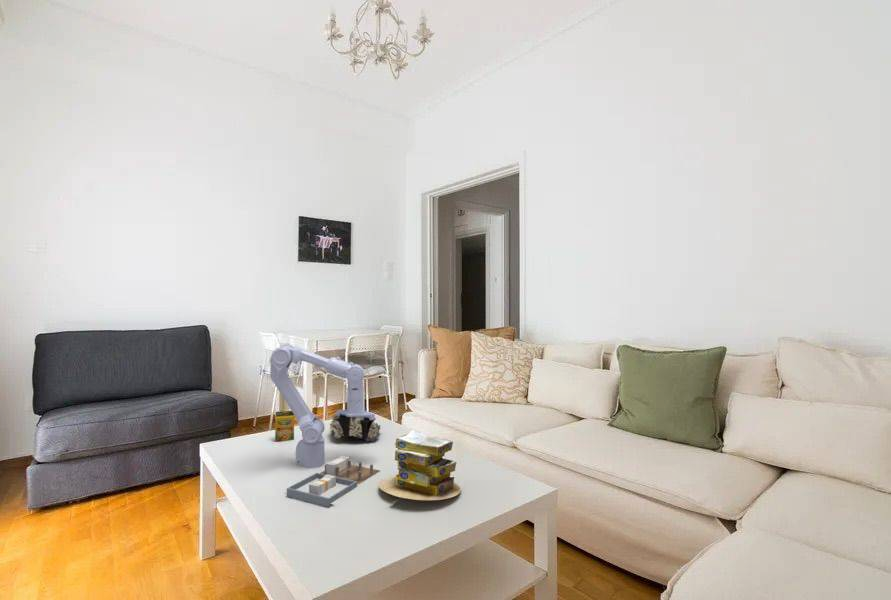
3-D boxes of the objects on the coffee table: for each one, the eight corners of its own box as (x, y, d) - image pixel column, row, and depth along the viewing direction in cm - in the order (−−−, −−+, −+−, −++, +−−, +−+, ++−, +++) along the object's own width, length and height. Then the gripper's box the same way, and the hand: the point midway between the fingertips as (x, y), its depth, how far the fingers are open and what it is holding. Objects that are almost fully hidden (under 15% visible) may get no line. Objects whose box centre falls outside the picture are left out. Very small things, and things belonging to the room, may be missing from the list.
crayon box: (275, 442, 183) (274, 413, 183) (275, 439, 186) (274, 411, 186) (294, 439, 186) (294, 411, 186) (293, 437, 188) (293, 410, 188)
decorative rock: (324, 445, 177) (324, 418, 178) (332, 433, 203) (333, 410, 204) (380, 442, 180) (380, 417, 181) (381, 431, 205) (381, 409, 207)
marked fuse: (309, 495, 133) (308, 484, 133) (327, 485, 140) (327, 474, 140) (317, 497, 132) (317, 486, 132) (335, 487, 139) (335, 476, 139)
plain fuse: (326, 473, 148) (326, 463, 148) (341, 465, 155) (341, 455, 155) (334, 475, 147) (334, 465, 147) (349, 467, 154) (349, 457, 154)
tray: (286, 496, 134) (286, 488, 134) (316, 480, 145) (316, 472, 145) (328, 507, 127) (328, 498, 127) (357, 489, 138) (357, 481, 138)
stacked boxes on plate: (416, 469, 154) (416, 421, 154) (476, 489, 139) (476, 435, 139) (361, 495, 135) (361, 439, 135) (423, 521, 119) (423, 458, 119)
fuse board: (316, 477, 147) (316, 466, 147) (340, 465, 158) (340, 455, 158) (358, 487, 140) (358, 475, 140) (380, 473, 151) (380, 462, 151)
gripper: (331, 400, 158) (331, 438, 158) (367, 404, 152) (367, 443, 152) (343, 396, 164) (343, 433, 164) (377, 399, 159) (378, 437, 159)
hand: (355, 437), depth 159 cm, fingers open, 7 cm apart
